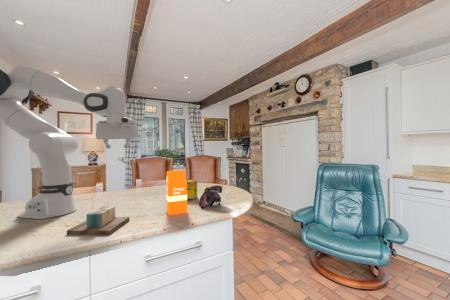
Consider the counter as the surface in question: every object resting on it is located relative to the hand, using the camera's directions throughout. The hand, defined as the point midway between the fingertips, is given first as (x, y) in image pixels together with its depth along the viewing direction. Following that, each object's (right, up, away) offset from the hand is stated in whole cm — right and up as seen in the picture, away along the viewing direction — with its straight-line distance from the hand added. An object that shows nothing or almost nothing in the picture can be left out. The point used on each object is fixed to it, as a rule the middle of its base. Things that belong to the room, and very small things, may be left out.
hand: (117, 148), depth 103 cm
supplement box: (+33, -31, +21) cm, 50 cm away
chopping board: (+4, -32, -21) cm, 38 cm away
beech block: (+5, -27, -15) cm, 32 cm away
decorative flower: (+47, -31, +6) cm, 56 cm away
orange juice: (+30, -31, -3) cm, 43 cm away
